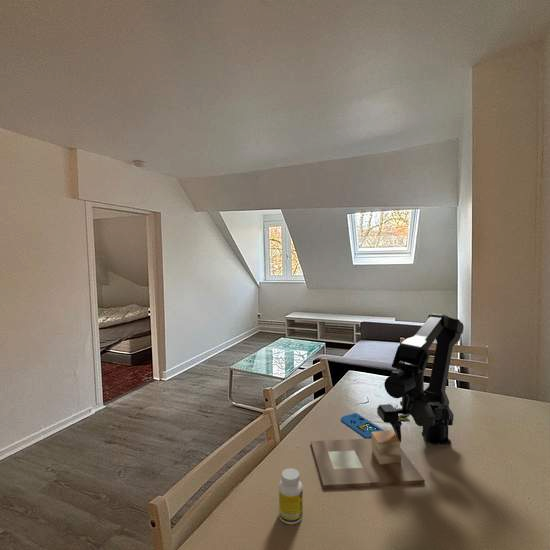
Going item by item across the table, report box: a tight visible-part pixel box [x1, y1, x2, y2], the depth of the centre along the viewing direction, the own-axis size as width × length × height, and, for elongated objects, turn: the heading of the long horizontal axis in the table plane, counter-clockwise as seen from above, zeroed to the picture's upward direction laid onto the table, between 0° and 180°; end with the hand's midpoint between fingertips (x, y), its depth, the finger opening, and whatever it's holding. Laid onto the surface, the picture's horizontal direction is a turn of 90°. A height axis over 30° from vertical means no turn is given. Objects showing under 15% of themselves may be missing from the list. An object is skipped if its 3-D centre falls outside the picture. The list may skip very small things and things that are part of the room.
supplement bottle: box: [278, 467, 304, 525], centre depth 74 cm, size 5×5×10 cm
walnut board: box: [310, 438, 426, 490], centre depth 93 cm, size 26×20×1 cm
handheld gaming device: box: [340, 412, 385, 439], centre depth 113 cm, size 8×1×15 cm
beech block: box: [371, 429, 402, 464], centre depth 93 cm, size 6×6×6 cm
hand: (413, 441), depth 93 cm, fingers open, 7 cm apart
